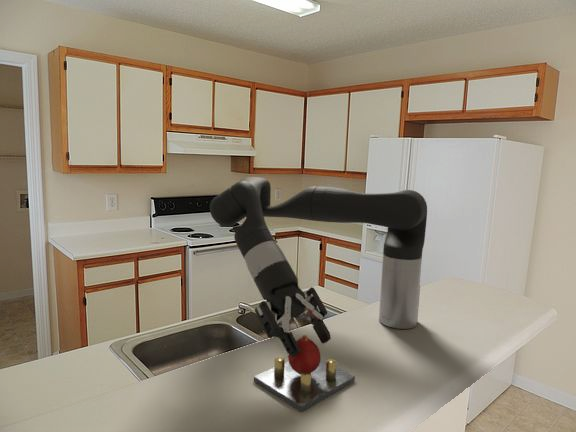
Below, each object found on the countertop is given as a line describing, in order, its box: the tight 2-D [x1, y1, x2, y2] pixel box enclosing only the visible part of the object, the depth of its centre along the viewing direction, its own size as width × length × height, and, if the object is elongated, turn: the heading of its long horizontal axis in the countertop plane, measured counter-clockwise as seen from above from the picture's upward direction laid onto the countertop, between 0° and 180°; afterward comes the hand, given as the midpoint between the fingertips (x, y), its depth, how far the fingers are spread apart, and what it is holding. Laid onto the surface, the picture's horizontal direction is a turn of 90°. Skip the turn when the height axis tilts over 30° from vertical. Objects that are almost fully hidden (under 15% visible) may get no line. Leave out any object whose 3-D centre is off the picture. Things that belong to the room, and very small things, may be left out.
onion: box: [287, 334, 322, 375], centre depth 74 cm, size 6×6×8 cm
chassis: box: [253, 356, 356, 413], centre depth 75 cm, size 14×12×4 cm
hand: (312, 347), depth 73 cm, fingers open, 7 cm apart
